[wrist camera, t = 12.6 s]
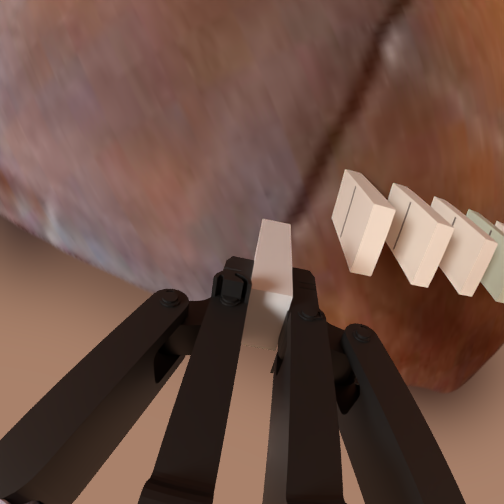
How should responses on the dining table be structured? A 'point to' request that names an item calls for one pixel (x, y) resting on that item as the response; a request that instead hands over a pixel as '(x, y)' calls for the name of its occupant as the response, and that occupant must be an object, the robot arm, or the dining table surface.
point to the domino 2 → (416, 235)
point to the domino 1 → (361, 222)
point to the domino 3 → (464, 249)
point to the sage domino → (500, 267)
